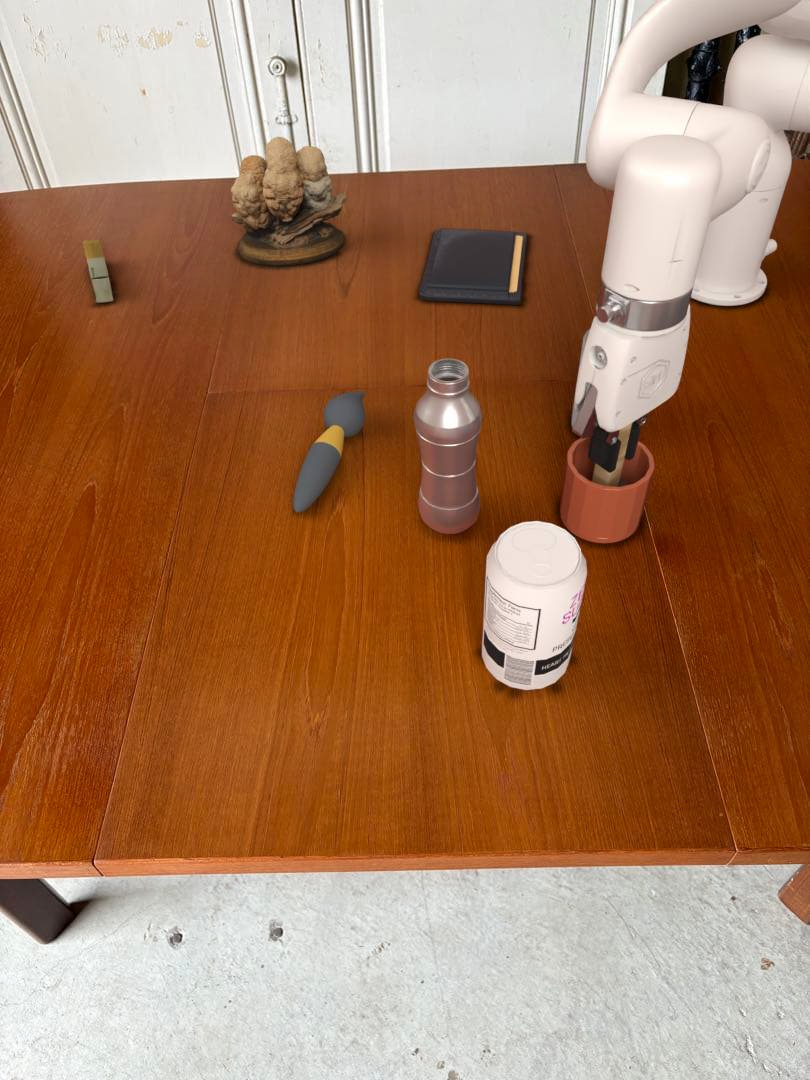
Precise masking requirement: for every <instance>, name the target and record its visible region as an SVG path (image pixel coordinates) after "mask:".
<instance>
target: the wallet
mask: <svg viewBox="0 0 810 1080" xmlns="http://www.w3.org/2000/svg"><path fill="white" fill-rule="evenodd" d="M432 235H433V236H432V239H431V243H430V248H429V252H428V257H427V261H426V264H425V268H424V272H423V275H422V278H421V282H420V285H419V292H418V298H419V299H422V300H424V301H431V302H446V303H447V302H448V303H474V304H492V305H513V306H514V305H515V306H520V305H521V300H522V293H523V292H522V290H523V277H524V267H525V260H526V259H525V258H526V249H527V239H528V232H525V231H524V232H523V231H511V230H494V229H493V230H490V229H470V228H469V229H468V228H444V227H443V228H437V229H435V230H434V232H433V234H432Z"/></svg>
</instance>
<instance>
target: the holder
mask: <svg viewBox="0 0 810 1080" xmlns="http://www.w3.org/2000/svg"><path fill="white" fill-rule="evenodd" d="M590 441H591V437H589V438H584V439H582V438H580V437H579V438H578V439H576V440H575V441H574V442H573V443H571V445H570V447H569V449H568V451H567V453H566V460H565V466H564V473H563V480H562V487H561V492H560V501H559V517H560V519H561V521H562V523H563V525H564V527H565V528H566V530H568V531H569V532H570V533H572V534H573V535H575V536H576V537H578V538H580V539H582V540H584V541H588V542H591V543H596V544H612V543H618V542H621V541H624V540H626V539H627V538H629V537H631V536H632V535H633V534H634V533H635V532H636V531H637V530H638V528H639V526H640V523H641V519H642V517H643V514H644V511H645V508H646V507H645V506H646V503H647V499H648V494H649V491H650V488H651V483H652V480H653V475H654V472H655V460H654V455H653V454H652V453H651V451H650V450H649V448H647V446H646V445H645V444H644V443H642V442H641V441H639V440H638V444H637V448H636V453H635V457H634V458H632V459H631V460H627V459H625V458H624V462H623V467H622V471H621V476H620V479H622V480H623V481H625V482H626V483H628V484H629V485H626V486H622V487H614V486H603V485H600V484H597V483H594V482H592V479H593V474H594V468H595V463H594V462H593V461H591V460H590V459H589V457H588V452H589V447H590Z"/></svg>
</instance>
